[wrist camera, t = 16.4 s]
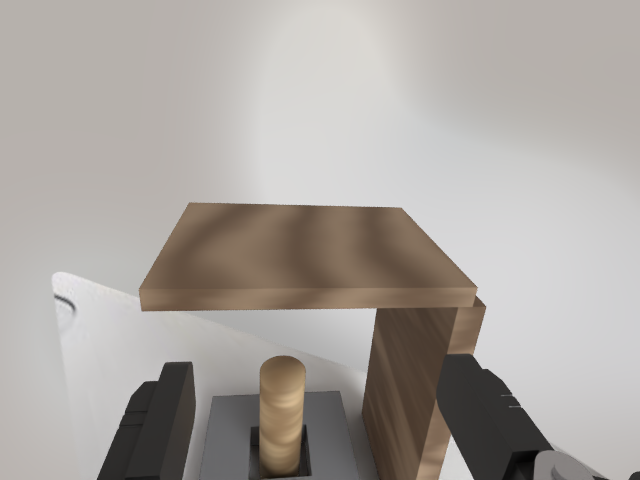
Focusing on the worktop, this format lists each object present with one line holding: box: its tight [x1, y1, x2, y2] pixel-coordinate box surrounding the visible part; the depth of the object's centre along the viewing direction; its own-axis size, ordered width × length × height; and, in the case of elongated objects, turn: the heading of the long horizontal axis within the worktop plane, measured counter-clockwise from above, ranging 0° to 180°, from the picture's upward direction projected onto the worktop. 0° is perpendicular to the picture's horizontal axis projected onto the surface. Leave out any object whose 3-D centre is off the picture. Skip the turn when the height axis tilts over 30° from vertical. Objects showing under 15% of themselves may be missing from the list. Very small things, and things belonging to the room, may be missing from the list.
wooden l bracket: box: [139, 203, 486, 480], centre depth 37 cm, size 22×16×28 cm
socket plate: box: [199, 391, 360, 480], centre depth 43 cm, size 16×16×3 cm
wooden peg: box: [259, 356, 306, 480], centre depth 40 cm, size 4×4×14 cm
